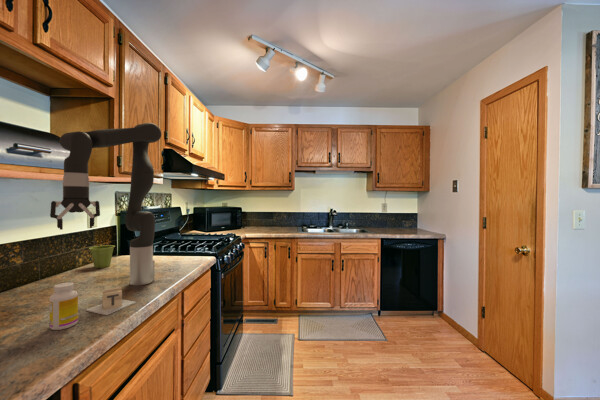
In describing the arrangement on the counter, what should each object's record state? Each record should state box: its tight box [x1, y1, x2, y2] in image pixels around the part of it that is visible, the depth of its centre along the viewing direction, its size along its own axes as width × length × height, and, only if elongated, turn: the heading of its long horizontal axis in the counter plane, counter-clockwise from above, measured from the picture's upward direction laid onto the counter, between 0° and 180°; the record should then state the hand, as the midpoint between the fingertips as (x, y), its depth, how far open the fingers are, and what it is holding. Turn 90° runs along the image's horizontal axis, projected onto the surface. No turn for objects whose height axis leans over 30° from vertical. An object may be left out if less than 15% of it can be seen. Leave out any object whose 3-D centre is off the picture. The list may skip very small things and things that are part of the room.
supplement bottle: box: [48, 281, 79, 331], centre depth 83 cm, size 7×7×13 cm
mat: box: [85, 298, 137, 316], centre depth 97 cm, size 11×10×1 cm
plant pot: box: [88, 244, 116, 269], centre depth 151 cm, size 12×12×11 cm
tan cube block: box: [101, 286, 123, 310], centre depth 97 cm, size 6×6×6 cm
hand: (76, 228), depth 100 cm, fingers open, 8 cm apart
